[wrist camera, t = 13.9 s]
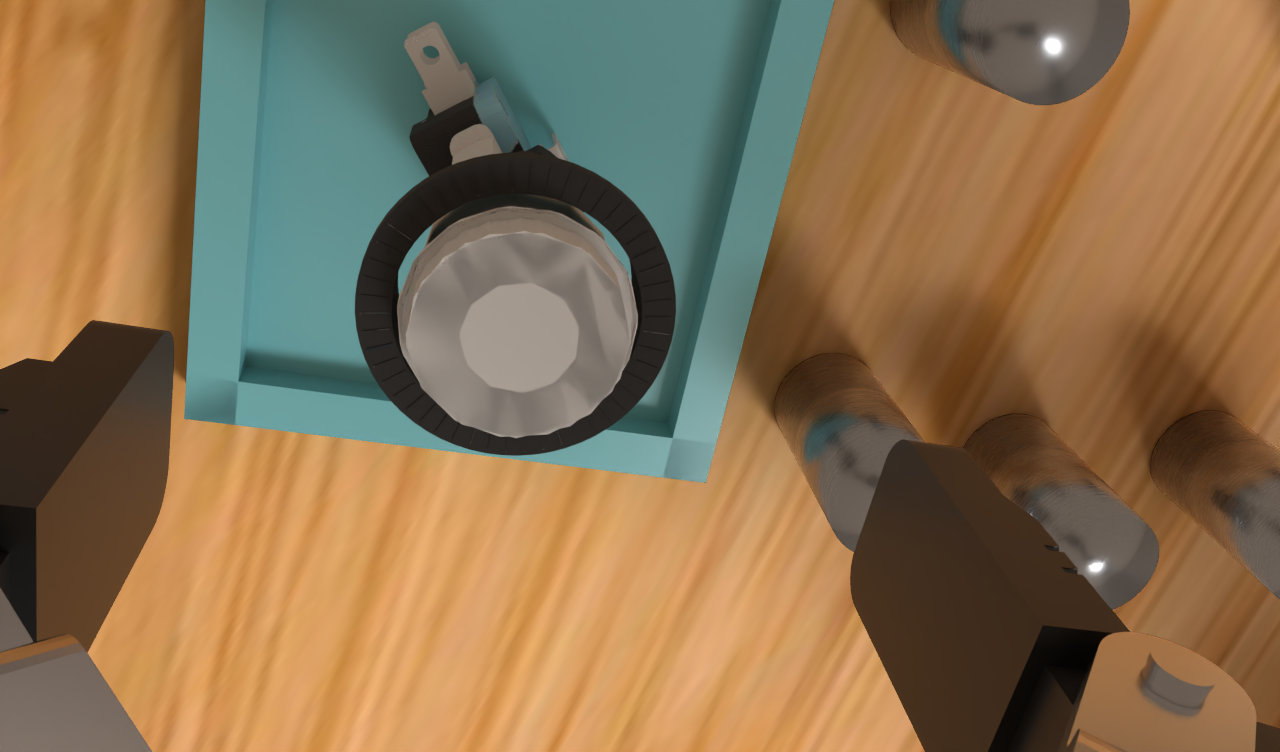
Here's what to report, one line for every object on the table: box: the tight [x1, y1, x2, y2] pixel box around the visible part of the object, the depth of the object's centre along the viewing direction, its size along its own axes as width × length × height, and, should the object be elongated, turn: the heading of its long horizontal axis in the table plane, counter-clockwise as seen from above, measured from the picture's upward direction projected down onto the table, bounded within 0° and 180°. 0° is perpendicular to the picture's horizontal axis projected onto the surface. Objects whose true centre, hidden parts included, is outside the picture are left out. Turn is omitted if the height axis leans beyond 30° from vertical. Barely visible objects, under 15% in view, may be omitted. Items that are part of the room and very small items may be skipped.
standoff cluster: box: [774, 0, 1280, 610], centre depth 28 cm, size 15×15×6 cm
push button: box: [355, 22, 676, 456], centre depth 22 cm, size 7×5×10 cm
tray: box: [184, 0, 834, 483], centre depth 26 cm, size 13×15×2 cm
